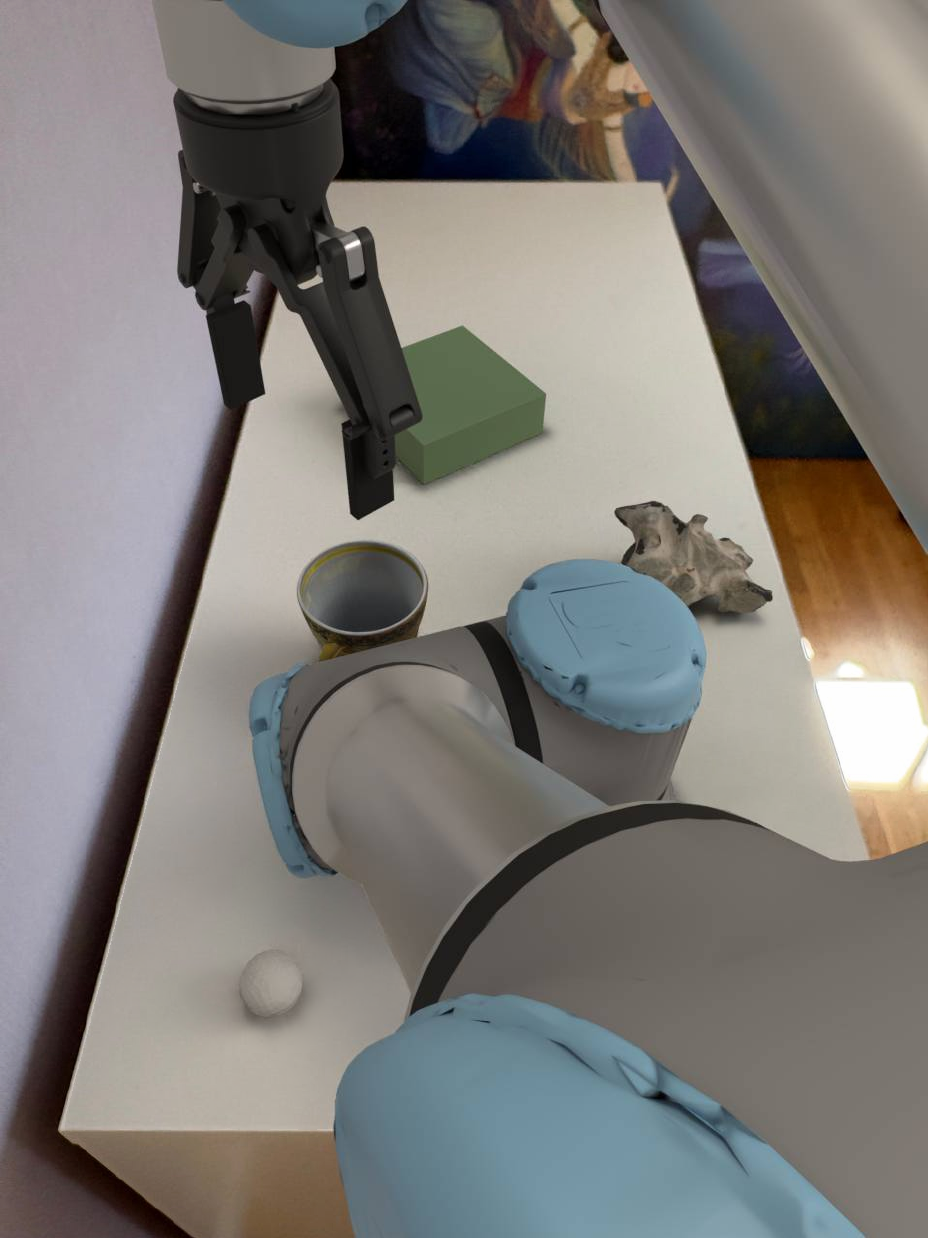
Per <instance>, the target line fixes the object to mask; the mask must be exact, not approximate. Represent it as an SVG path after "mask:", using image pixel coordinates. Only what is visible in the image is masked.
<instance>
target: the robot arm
mask: <svg viewBox="0 0 928 1238" xmlns="http://www.w3.org/2000/svg"><path fill="white" fill-rule="evenodd" d="M151 2H152V3H151V4H152V8H153V12H154V17H155V23H156V28H157V33H158V38H159V42H160V48H161V53H162V57H163V62H164V69H165V73H166V77H167V79H168V80H169V81H170V82H171V83H172V84H173V86H175V87H176V88H177V89H176V91H175V93H174V95H173V97H172V98H173V99H172V103H173V108H174V113H175V116H176V118H175V119H176V123H177V127H178V132H179V137H180V143H181V147H182V149H180V150H178V151H177V159H178V166H179V172H180V178H181V185H182V190H181V191H182V192H181V208H180V222H179V239H178V252H177V253H178V254H177V268H176V274H177V278H178V282H179V283H180V284H181V285H182V287H183V288H184V289H189V288H191V287H193V289H194V290H195V292H194V298H195V300H196V303H197V305H198V306H199V307H200V309H201V310H202V311H205V313H206V315H205V320H206V324H207V329H208V334H209V339H210V344H211V349H212V354H213V358H214V363H215V368H216V372H217V377H218V382H219V387H220V393H221V397H222V402H223V406H225V407H226V408H227V409H228V410H229V411H231V410H234V409H236V408H238V407H241V406H243V405H245V404H247V403H249V402H252V401H253V400H255V399H258V398H261V397H262V396H264V395H266V389H265V388H266V387H265V381H264V378H263V377H264V376H263V371H262V365H261V358H260V352H259V346H258V341H257V334H256V328H255V322H254V316H253V310H252V305H251V304H250V303H249V302H247V301H246V300H244V299H243V300H241V301H238V302H236V303H235V299H237V298H240V297H242V296H245V295H247V294H250V293H251V290H250V289H249V287H248V285H247V284H248V282H249V281H250V279H251V277H252V276H253V273H254V271H255V273H260V274H262V275H265V277H266V278H267V279H268V281H270V282H271V283H272V284H273V285H274V286H275V287H276V289H277V291H278V293H279V296H280V298H281V299H282V301H283V303H284V307H286V309H287V311H290V312H291V313H294V314H297V315H299V317H300V319H301V320H302V323H303V325H304V327H305V329H306V331H307V333H308V335H309V338H310V339H311V341H312V343H313V345H314V348H315V350H316V352H317V354H318V356H319V358H320V360H321V362H322V364H323V367H324V369H325V370H326V371H325V372H326V373H327V375H328V377H329V379H330V381H331V383H332V385H333V387H334V389H335V391H336V393H337V395H338V397H339V400H340V401H341V403H342V406H343V409H344V410H345V412H346V414H347V416H348V418H349V419H347V420H345V421H343V422H342V423H340V425H341V431H340V432H341V434H342V435H341V436H342V445H343V446H342V447H343V455H344V464H345V476H346V487H347V496H348V508H349V515H351V516H352V517H353V518H354V519H355V520H356V521H360V520H362V519H363V518H365V517H368V516H369V515H371V514H372V513H375V512H376V511H378V510H379V509H382V508H383V507H385V506H387V505H389V504H390V503H392V502H395V484H394V483H395V482H394V481H395V480H394V469H395V468H396V465H397V457H396V456H395V455H396V452H395V435H396V434H398V433H400V432H402V431H404V430H406V429H408V428H410V427H412V426H414V425H416V424H418V423H419V422H421V421H422V418H423V416H422V411H421V408H420V405H419V402H418V399H417V395H416V392H415V389H414V386H413V383H412V380H411V376H410V373H409V370H408V367H407V364H406V361H405V358H404V354H403V351H402V348H403V347H402V345H401V342H400V338H399V336H398V332H397V329H396V326H395V323H394V321H393V317H392V314H391V310H390V308H389V304H388V301H387V298H386V295H385V292H384V289H383V285H382V283H381V279H380V274H379V265H378V258H377V257H378V256H377V250H376V242H375V238H374V236H373V233H372V232H371V230H370V229H369V228H368V227H367V226H360V227H358V228H355V229H352V230H350V231H345V230H343V229H341V228H340V227H337V226H335V222H334V219H333V215H332V213H331V210H330V207H329V203H328V198H327V192H328V190H329V187H330V186H331V184H332V182H333V180H334V178H335V177H336V176H337V175H338V173H339V172H340V169H341V167H342V166H343V162H344V155H345V154H344V142H343V140H344V139H343V128H342V117H341V115H342V114H341V102H340V92H339V88H338V86H337V85H336V84H335V83H334V82H333V81H332V79H331V77H333V75H334V73H335V71H336V69H337V66H336V65H337V63H336V54H335V53H336V52H335V48H336V47H343V46H346V45H349V44H352V43H355V42H356V41H359V40H360V39H362V38H363V39H364V38H365V37H366V36H368V34H369V33H371V32H372V31H374V30H376V29H378V28H380V27H381V26H382V25H383V24H385V22H386V21H388V20H389V19H390V18H391V17H393V16H394V15H396V14H397V13H399V12H400V10H401V9H402V8H403V7H404V6H405V5H406V3H407V2H408V0H151ZM591 2H592V3H593V4H594V6H595V8H596V9H597V12H598V13H599V15H600V16H601V18H602V19H603V21H604V22H605V24H606V26H607V27H609V28H610V30H611V32H612V34H613V35H614V37H615V38H616V40H617V42H618V43H619V46H620V47H621V49H622V50H623V52H624V53H625V55H626V57H627V58H628V61H629V62H630V63H631V65H632V67H633V68H634V71H635V72H636V73H637V75H638V77H639V78H640V80H641V81H642V83H643V85H644V87H645V88H646V90H647V92H648V93H649V95H650V97H651V98H652V100H653V102H654V103H655V106H656V107H657V108H658V110H659V112H660V114H661V115H662V117H663V118H664V120H665V122H666V123H667V125H668V126H669V129H670V130H671V132H672V133H673V135H674V136H675V138H676V140H677V141H678V143H679V145H680V147H681V148H682V150H683V152H684V154H685V155H686V156H687V158H688V161H690V163H691V165H692V166H693V168H694V170H695V172H696V173H697V175H698V176H699V178H700V180H701V182H702V183H703V185H704V186H705V189H706V190H707V191H708V193H709V195H710V197H711V198H712V200H713V201H714V203H715V205H716V206H717V209H718V210H719V211H720V213H721V215H722V217H723V218H724V219H725V221H726V223H727V224H728V225H727V226H729V228H730V231H732V233H733V234H734V236H735V238H736V240H737V242H738V243H739V245H740V246H741V248H742V250H743V251H744V253H745V255H746V256H747V258H748V259H749V261H750V263H751V265H752V266H753V268H754V269H755V271H756V273H757V275H758V276H759V278H760V279H761V281H762V283H763V285H764V286H765V288H766V290H767V291H768V293H769V294H770V296H771V298H772V300H773V302H774V303H775V305H776V306H777V308H778V309H779V311H780V313H781V315H782V316H783V318H784V319H785V322H786V323H787V324H788V326H789V328H790V330H791V331H792V333H793V335H794V336H795V338H796V339H797V341H798V343H799V344H800V346H801V347H802V349H803V351H804V353H805V354H806V356H807V358H808V359H809V361H810V362H811V364H812V366H813V367H814V369H815V370H816V373H817V374H818V376H819V378H820V379H821V381H822V383H823V384H824V386H825V388H826V389H827V391H828V392H829V395H830V396H831V398H832V399H833V401H834V403H835V404H836V406H837V408H838V410H839V411H840V413H841V414H842V416H843V418H844V419H845V422H846V423H847V424H848V426H849V428H850V429H851V431H852V433H853V434H854V436H855V437H856V440H857V441H858V443H859V444H860V446H861V448H862V449H863V451H864V452H865V454H866V456H867V458H868V459H869V461H870V462H871V464H872V465H873V467H874V469H875V470H876V471H875V472H877V474H878V475H879V477H880V479H881V480H882V482H883V484H884V486H885V487H886V489H887V491H888V493H889V494H890V495H891V498H892V499H893V501H894V503H896V506H897V507H898V509H899V510H900V512H901V514H902V516H903V518H904V519H905V520H906V522H907V524H908V525H909V527H910V529H911V530H912V532H913V534H914V535H915V537H916V539H917V541H918V542H919V544H920V545H921V547H922V549H923V551H924V553H925V554H926V555H927V556H928V0H591ZM317 276H318V277H319V278H320V279H322V281H321V282H319V283H316V284H314V285H312V286H309V287H307V288H301V287H299V285H301V284H304V283H307V282H309V281H311V280H313V279H315V278H316V277H317ZM248 289H249V290H248ZM506 610H507V611H506V612H505V615H501V616H497V617H493V618H490V619H487V620H482V621H478V622H473V623H469V624H466V625H462V626H456V627H452V628H448V629H444V630H440V631H436V632H433V633H428V634H424V635H421V636H417V637H416V638H412V639H408V640H404V641H400V642H396V643H392V644H389V645H385V646H381V647H377V648H373V649H369V650H365V651H361V652H357V653H353V654H349V655H345V656H341V657H337V658H333V659H329V660H325V661H321V662H318V661H316V662H313V663H307V662H305V663H300V664H299V663H298V664H295V665H293V666H292V667H291V668H290V669H289V670H287V671H284V672H281V673H278V674H275V675H271V676H269V677H267V678H265V679H263V680H261V681H259V683H258V684H257V685H256V686H255V688H254V689H253V691H252V693H251V695H250V698H249V705H248V721H249V730H250V733H251V736H252V740H251V744H252V745H251V746H252V757H253V761H254V762H253V763H254V767H255V773H256V779H257V783H258V787H259V791H260V795H261V800H262V804H263V808H264V812H265V816H266V818H267V823H268V826H269V830H270V832H271V836H272V838H273V841H274V844H275V847H276V850H277V852H278V854H279V856H280V858H281V859H282V862H283V863H284V864H285V867H286V869H287V870H288V872H289V873H290V874H291V875H292V876H295V877H297V878H299V879H312V878H315V877H323V878H325V877H328V876H330V877H333V876H336V875H337V874H340V875H341V876H343V877H344V878H346V879H347V880H350V881H351V882H354V883H357V884H359V885H360V886H361V887H362V889H363V892H364V893H365V896H366V898H367V900H368V902H369V905H370V906H371V908H372V911H373V913H374V915H375V917H376V919H377V922H378V923H379V927H380V928H381V930H382V932H383V935H384V937H385V940H386V941H387V944H388V946H389V948H390V951H391V953H392V955H393V957H394V958H395V961H396V964H397V966H398V968H399V970H400V972H401V974H402V976H403V979H404V982H405V984H406V985H407V987H408V990H409V992H410V996H409V1000H408V1004H407V1007H406V1011H405V1015H404V1018H403V1019H404V1020H403V1022H402V1023H401V1025H400V1026H399V1027H398V1028H397V1029H396V1030H395V1032H393V1033H391V1034H389V1035H387V1036H385V1037H383V1038H381V1039H379V1040H377V1041H375V1042H373V1043H371V1044H370V1045H367V1046H366V1047H365V1048H363V1049H362V1050H361V1051H360V1052H358V1053H357V1054H356V1056H355V1057H354V1058H353V1059H352V1060H351V1061H350V1062H349V1064H348V1065H347V1066H346V1068H345V1070H344V1072H343V1074H342V1075H341V1079H340V1081H339V1084H338V1086H337V1089H336V1095H335V1099H334V1118H333V1125H332V1130H333V1131H332V1132H333V1138H334V1145H335V1151H336V1157H337V1158H336V1159H337V1164H338V1169H339V1175H340V1180H341V1183H342V1186H343V1190H344V1193H345V1199H346V1203H347V1209H348V1214H349V1218H350V1219H349V1220H350V1222H351V1227H352V1231H353V1236H354V1238H928V841H925V842H922V843H919V844H916V845H914V846H911V847H908V848H904V849H902V850H899V851H896V852H893V853H891V854H888V855H885V856H882V857H879V858H873V859H864V860H853V861H850V860H849V861H846V860H837V859H832V858H830V857H827V856H825V855H823V854H821V853H820V852H817V851H815V850H813V849H811V848H809V847H807V846H805V845H803V844H801V843H799V842H796V841H795V840H792V839H790V838H788V837H786V836H784V835H782V834H779V833H778V832H775V831H774V830H772V829H769V828H768V827H765V826H764V825H762V824H760V823H757V822H756V821H753V820H751V819H749V818H746V817H744V816H741V815H739V814H737V813H734V812H732V811H731V810H726V809H721V808H718V807H713V806H708V805H703V804H697V803H691V802H687V801H682V800H681V801H680V800H677V798H676V795H675V792H674V786H673V782H672V775H673V773H674V769H675V766H676V764H677V761H678V758H679V755H680V753H681V750H682V748H683V745H684V742H685V740H686V736H687V734H688V731H689V729H690V725H691V723H692V720H693V717H694V716H695V715H696V712H697V710H698V709H699V707H700V703H701V700H702V695H703V680H704V675H705V673H706V667H707V647H706V641H705V638H704V634H703V631H702V629H701V627H700V625H699V622H698V621H697V618H696V617H695V615H694V614H693V613H692V611H691V610H690V608H689V607H687V606H686V605H685V604H684V602H683V601H682V600H681V599H680V598H679V597H678V596H677V595H676V594H675V593H673V592H672V591H671V590H670V589H669V588H667V587H666V586H665V585H663V584H662V583H660V582H659V581H657V580H656V579H654V578H652V577H651V576H647V575H643V574H640V573H637V572H635V571H634V570H632V569H631V568H630V567H628V566H625V565H622V563H618V562H614V561H609V560H605V559H604V560H603V559H595V558H576V559H574V558H573V559H566V560H561V561H557V562H554V563H551V564H547V565H545V566H542V567H541V568H539V569H537V570H535V571H534V572H532V573H531V574H530V575H528V577H526V578H525V579H524V580H523V582H522V585H521V587H520V588H519V589H518V590H517V591H515V593H514V595H512V597H511V598H510V600H509V601H508V603H507V609H506Z"/></svg>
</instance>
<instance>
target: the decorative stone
mask: <svg viewBox="0 0 928 1238" xmlns="http://www.w3.org/2000/svg"><path fill="white" fill-rule="evenodd" d="M613 513H614V516H615V518H617V520H618V521H619V522H620V523H621V524H622V526H624V527H626V528H627V529H629V530H630V532H631V533H632V536H633V539H634V542H633V543H632V544H631V545H630V546H629V547H628V548H627V549H626V551H625V553H624V554H623V555H622V559H621V564H622V565H625V566H628V567H630V568H631V569H632V570H634V571H635V572H637V573H640V574H643V575H647V576H651V577H652V578H654V579H656V580H657V581H659V582H660V583H662V584H663V585H665V586H666V587H667V588H669V589H670V590H671V591H672V592H673V593H675V594H676V595H677V596H678V597H679V598H680V599H681V600H682V601H683V602H684V604H685V605H686V606H687V607H688V608H689V607H690V606H691V605H692V604H694V603H696V602H698V601H700V600H702V599H704V598H707V597H711V596H713V595H714V596H715V595H716V596H718V597H719V600H718V604H717V611H718V612H722V613H725V612H733V613H738V614H741V613H746V614H747V613H755V612H756V611H757V610H759V609H761V607H764V606H765V605H766V604H767V603H770V602H772V601H773V599H774V595H773V590H770V589H766V588H764V587H763V586H762V585H761V586H760V585H759V584H757V583H755V582H754V581H753V580H752V579H751V578H750V576H749V574H748V573H747V572H746V571H747V570H748V569H749V568H750V567H751V566H752V564H753V562H754V559H753V558H752V557H751V556H750V555H749V554H748V553H747V551H745V549H744V548H743V546H742V545H740V544H738V543H736V542H734V541H733V540H732V539H731V538H729V537H721V538H718V539H715V537H714V535H713V534H712V533H711V532H709V531H707V530H706V529H705V524H706V523H707V522H708V520H709V517H708V516H706V515H704V514H701V513H696V514H693V516H692V517H691V519H690V520H689V521H688V522H684V521H683V520H681V519H680V518H679V517H678V516H677V515H676V514H675V513H674V512H673V510H672V509H671V508H670V507H669V506H668V505H665V504H663V503H662V502H660V501H657V500H650V501H647V502H642V503H635V504H629V505H624V506H618V507H616V508H615V509H614V512H613Z"/></svg>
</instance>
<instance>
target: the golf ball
mask: <svg viewBox="0 0 928 1238" xmlns="http://www.w3.org/2000/svg"><path fill="white" fill-rule="evenodd" d="M238 980H239V982H238V989H239V995H240V998H241V1000H242V1003H243V1004H244V1005H245V1007H247V1009H248V1010H250V1011H251V1013H253V1014H255V1015H257V1016H261V1017H264V1018H272V1017H277V1016H281V1015H282V1014H284V1013H286V1012H289V1011H290V1009H291V1008H293V1007H294V1005H295V1004H296V1003H297V1001H298V999H299V998H300V997H301V994H302V990H303V985H304V984H303V983H304V977H303V972H302V970H301V967H300V965H299V963H298V962H297V961H296V959H295V958H294V957H292V955H290V954H289V953H287V952H285V951H283V950H278V949H270V950H269V949H268V950H264V951H261V952H259V953H257V954H255V955H254V956H253V957H251V958H250V959H249V960H248V962H247V963H246V964H245V966H244V967H243V969H242V971H241V973H240V976H239V979H238Z"/></svg>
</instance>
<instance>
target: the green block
mask: <svg viewBox="0 0 928 1238" xmlns="http://www.w3.org/2000/svg"><path fill="white" fill-rule="evenodd" d="M401 348H402V351H403V354H404V358H405V361H406V364H407V367H408V370H409V373H410V376H411V380H412V383H413V386H414V389H415V392H416V395H417V399H418V402H419V405H420V408H421V411H422V416H423V418H422V421H421V422H419V423H418V424H416V425H414V426H412V427H410V428H408V429H406V430H404V431H402V432H400V433H398V434H396V435H395V452H396V455H395V456H396V459H397V460H399V461H400V462H401V463H402V465H404V466H405V468H407V470H408V471H410V472H411V474H413V475H414V477H416V478H417V480H418V481H419V482H420V483H421V484H423V485H427V484H430V483H431V482H434V481H436V480H439V479H440V478H441V479H442V478H443V477H445V476H447V475H450V474H452V473H454V472H457V471H459V470H461V469H463V468H466V467H468V466H470V465H473V464H475V463H477V462H479V461H481V460H482V461H483V460H484V459H486V458H489V457H490V456H493V455H496V454H497V453H500V452H502V451H504V450H506V449H509V448H511V447H513V446H516V445H518V444H520V443H522V442H525V441H528V440H530V439H532V438H534V437H536V436H539V435H541V434H543V432H544V420H545V411H546V400H547V393H546V392H545V391H544V390H543V389H541V388H540V387H539V386H538V385H537V384H535V383H534V382H533V381H531V380H530V379H529V378H528V377H527V376H526V375H524V374H523V373H522V372H521V371H519V370H518V369H516V368H515V366H513V365H512V364H511V363H509V362H508V361H507V360H506V359H505V358H504V357H502V356H501V355H500V354H499V353H497V352H496V351H495V350H494V349H492V347H490V346H489V345H488V344H486V342H484V341H483V340H482V339H480V338H479V337H478V336H477V335H475V334H474V333H473V332H472V331H471V330H469V329H468V328H467V327H465V326H464V325H459V326H457V327H455V328H451V329H449V330H446V331H443V332H441V333H438V334H435V335H433V336H430V337H427V338H425V339H421V340H418V341H416V342H414V343H410V344H409V345H406V346H403V347H401Z"/></svg>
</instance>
